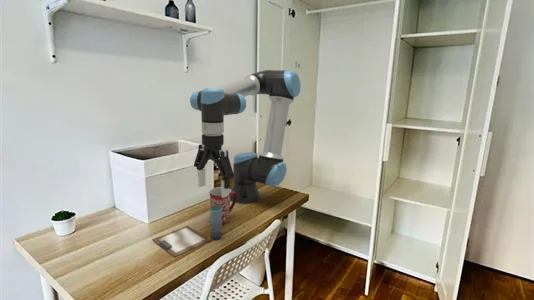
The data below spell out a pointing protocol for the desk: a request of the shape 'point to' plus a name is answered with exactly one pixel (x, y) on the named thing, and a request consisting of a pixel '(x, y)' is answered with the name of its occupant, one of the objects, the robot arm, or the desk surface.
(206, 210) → the desk surface
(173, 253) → the clipboard
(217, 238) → the grey cylinder
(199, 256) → the desk surface
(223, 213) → the mug
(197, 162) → the robot arm
